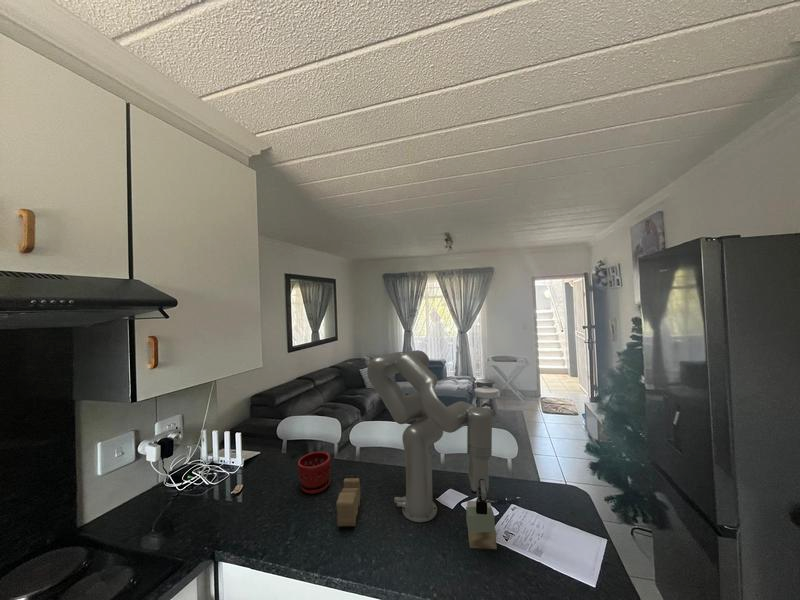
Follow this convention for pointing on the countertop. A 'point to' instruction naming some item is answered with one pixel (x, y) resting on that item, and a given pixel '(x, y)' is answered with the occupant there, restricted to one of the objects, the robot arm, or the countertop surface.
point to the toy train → (348, 502)
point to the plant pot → (314, 472)
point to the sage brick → (480, 520)
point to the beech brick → (482, 540)
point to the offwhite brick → (473, 504)
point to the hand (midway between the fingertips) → (478, 502)
